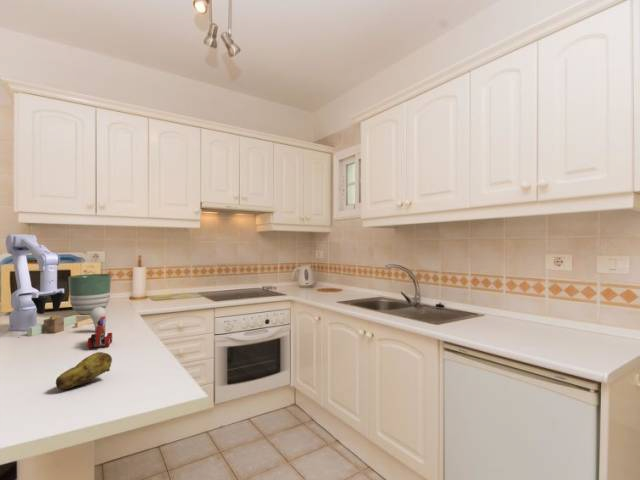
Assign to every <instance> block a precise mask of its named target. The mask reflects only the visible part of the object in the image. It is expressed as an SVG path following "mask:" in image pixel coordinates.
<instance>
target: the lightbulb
mask: <svg viewBox="0 0 640 480" xmlns="http://www.w3.org/2000/svg"><path fill="white" fill-rule="evenodd" d="M107 313H108V312H107V310H106V308H105V309H104V308H102V307H97V308H94V309H93V310H92V311H91V313H90V317H91V319H92V320H93V322H94V323H93V325H94V326H93V327H94V331H96V329H97V326H98V324H97V322H98V321H99V319H100V318H101V317H106V318H107V315H108V314H107Z"/></svg>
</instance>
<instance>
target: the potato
mask: <svg viewBox="0 0 640 480" xmlns="http://www.w3.org/2000/svg"><path fill="white" fill-rule="evenodd" d="M112 362H113V358H112V356H111V354H109V353H107V352H104V351H103V352H102V351H101V352H100V351H98V352H95V353H92V354H91V355H89V356H87V357H85V358H83V360H81V361H80V362H78V363H77V364H76V365H75V366H74V367H70V368H69V369H67V370H66V371H63V373H61V374H60V375H59V376H58V377H56V380H55V386H56V388H57V389H59V390H63V389H64V390H68V389H71V388H75V387H78V385H79V386H82V385H86V384H87V383H89V382H91V381H93V380H94V379H95V378H97V377H99V376H101V375H103V374H104V373H106V372H110V371H111V369H110V368H111V366H112ZM74 386H75V387H74Z"/></svg>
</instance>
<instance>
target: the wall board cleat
mask: <svg viewBox="0 0 640 480" xmlns="http://www.w3.org/2000/svg"><path fill="white" fill-rule="evenodd" d="M73 324H74V328H76V329H78V328H81V327H84V326H87V325H91V324H94V322H93V320H92V319H91V317H90V315H81V314H73V315H70V316H66V317H64V327H67V326H70V325H73ZM40 334H44V323H41V324H37V325H36V326H33V327H29V328H28V330H27V337H34V336H38V335H40Z"/></svg>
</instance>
